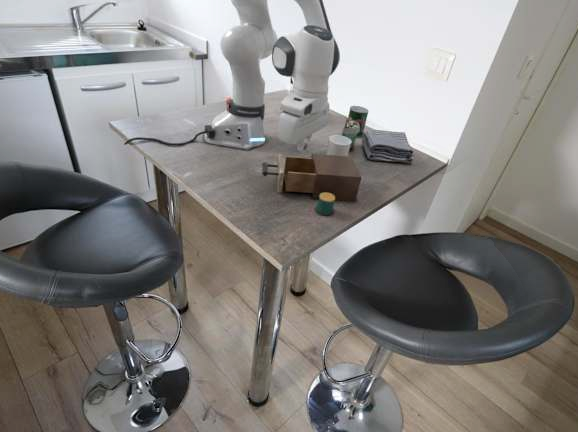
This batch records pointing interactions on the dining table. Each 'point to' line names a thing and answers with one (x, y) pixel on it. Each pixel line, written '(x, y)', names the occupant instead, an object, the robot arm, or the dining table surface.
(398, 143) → the towel
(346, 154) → the white cup
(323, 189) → the cabinet
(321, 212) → the tea tin
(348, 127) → the food container
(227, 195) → the dining table surface
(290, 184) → the drawer
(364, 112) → the canned tomato
